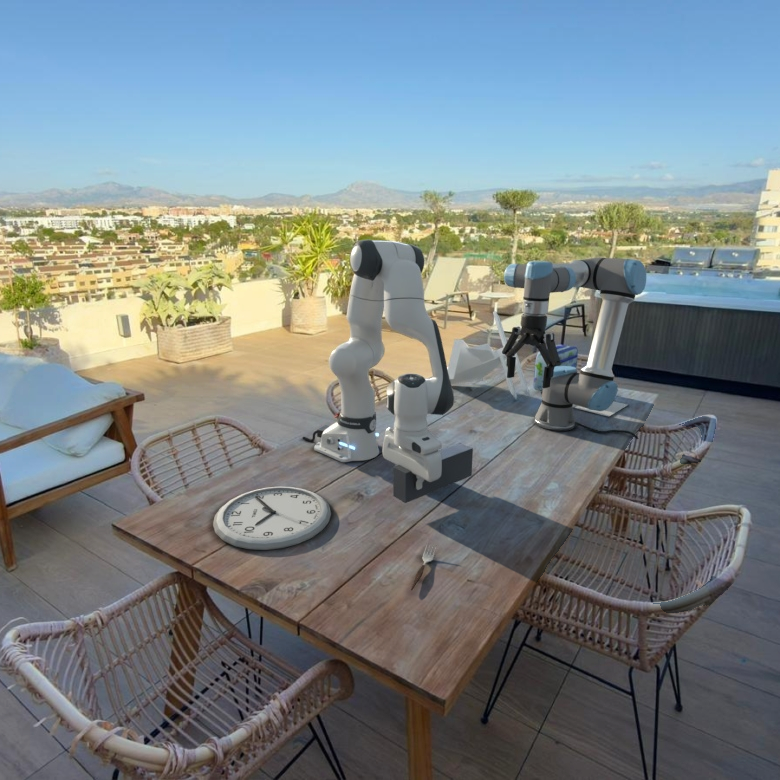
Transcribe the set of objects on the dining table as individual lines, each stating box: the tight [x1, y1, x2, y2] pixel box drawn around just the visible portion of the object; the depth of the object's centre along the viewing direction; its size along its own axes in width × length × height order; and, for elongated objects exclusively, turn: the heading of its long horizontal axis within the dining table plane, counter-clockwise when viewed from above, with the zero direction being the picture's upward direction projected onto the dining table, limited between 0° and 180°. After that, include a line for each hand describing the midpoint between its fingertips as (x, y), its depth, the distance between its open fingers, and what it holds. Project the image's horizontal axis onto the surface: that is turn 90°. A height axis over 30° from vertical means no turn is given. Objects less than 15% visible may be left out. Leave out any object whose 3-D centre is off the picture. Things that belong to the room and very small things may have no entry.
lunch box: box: [533, 344, 579, 392], centre depth 247 cm, size 26×11×21 cm, turn 134°
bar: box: [392, 442, 474, 504], centre depth 146 cm, size 26×5×9 cm, turn 129°
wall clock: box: [212, 486, 332, 551], centre depth 136 cm, size 30×2×30 cm
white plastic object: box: [447, 310, 531, 400], centre depth 245 cm, size 37×45×31 cm
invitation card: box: [573, 400, 629, 418], centre depth 226 cm, size 21×1×15 cm
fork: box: [410, 542, 438, 591], centre depth 116 cm, size 3×16×2 cm, turn 160°
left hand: (410, 484), depth 141 cm, fingers closed on bar, 5 cm apart
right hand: (527, 382), depth 163 cm, fingers open, 13 cm apart
